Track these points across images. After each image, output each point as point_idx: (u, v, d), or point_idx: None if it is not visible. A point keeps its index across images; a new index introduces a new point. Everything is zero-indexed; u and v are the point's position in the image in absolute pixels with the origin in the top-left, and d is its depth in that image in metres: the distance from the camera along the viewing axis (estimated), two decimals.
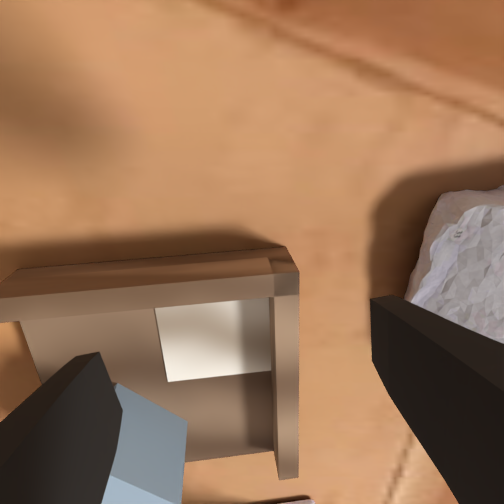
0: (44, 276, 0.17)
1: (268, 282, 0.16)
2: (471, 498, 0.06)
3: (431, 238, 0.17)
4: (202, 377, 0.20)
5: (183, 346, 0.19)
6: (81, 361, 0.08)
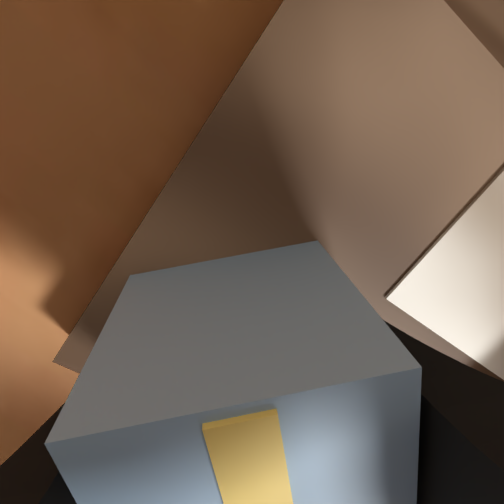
0: None
1: None
2: None
3: None
4: (428, 328, 0.11)
5: (470, 257, 0.10)
6: None
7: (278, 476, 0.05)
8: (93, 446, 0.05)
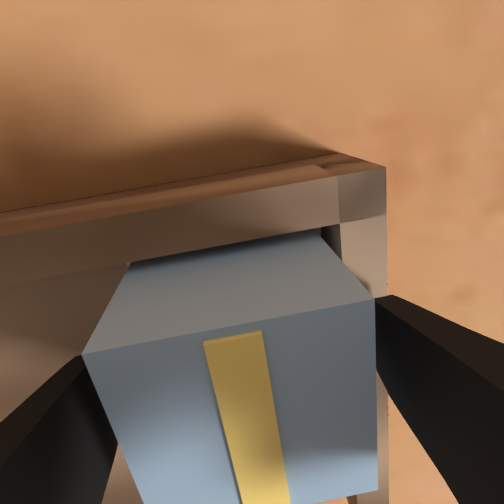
0: None
1: (327, 194, 0.08)
2: (471, 498, 0.06)
3: None
4: None
5: None
6: (81, 361, 0.08)
7: (263, 390, 0.06)
8: (118, 358, 0.06)
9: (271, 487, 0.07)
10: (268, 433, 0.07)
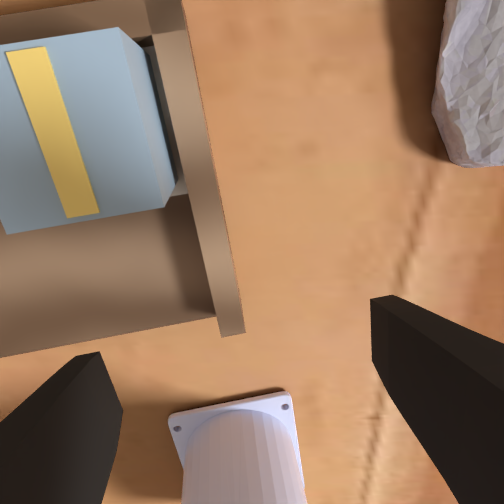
0: None
1: (138, 9, 0.12)
2: (471, 498, 0.06)
3: None
4: None
5: None
6: (81, 361, 0.08)
7: (58, 100, 0.10)
8: None
9: (80, 191, 0.11)
10: (66, 138, 0.10)
